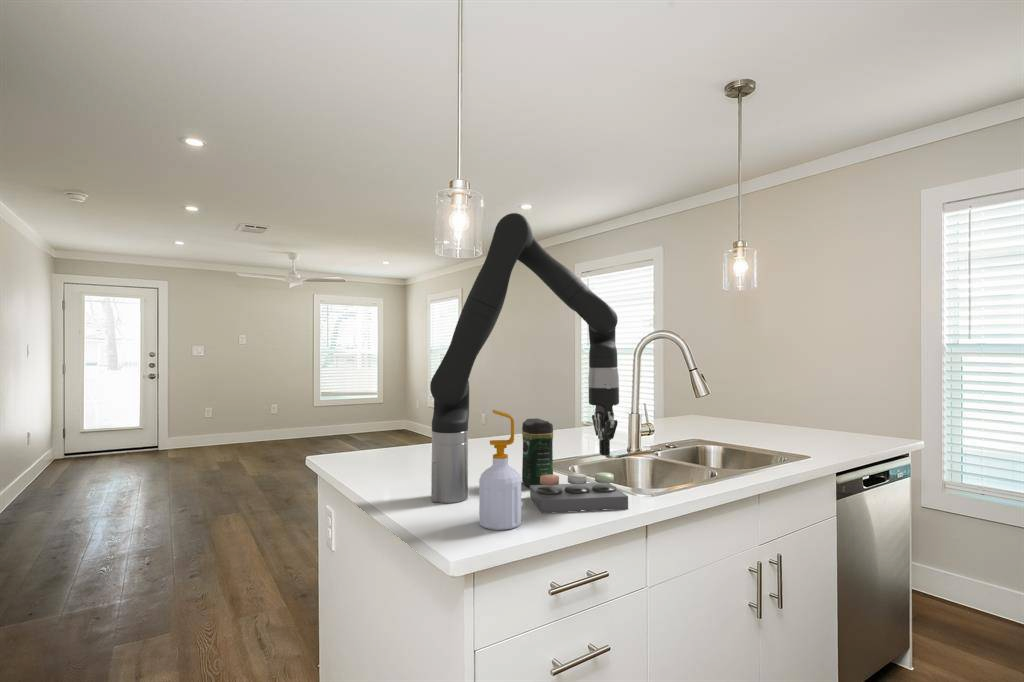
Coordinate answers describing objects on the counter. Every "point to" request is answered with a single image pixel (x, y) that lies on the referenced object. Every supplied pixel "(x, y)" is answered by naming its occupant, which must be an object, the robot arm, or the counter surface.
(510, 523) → the soap bottle
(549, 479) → the terracotta button
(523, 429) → the coffee jar
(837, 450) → the counter surface
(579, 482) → the white button
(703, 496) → the counter surface
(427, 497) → the counter surface
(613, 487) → the button panel
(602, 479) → the sage button
